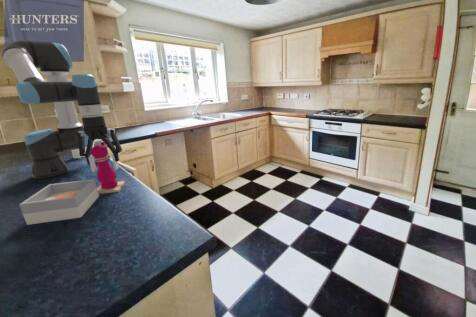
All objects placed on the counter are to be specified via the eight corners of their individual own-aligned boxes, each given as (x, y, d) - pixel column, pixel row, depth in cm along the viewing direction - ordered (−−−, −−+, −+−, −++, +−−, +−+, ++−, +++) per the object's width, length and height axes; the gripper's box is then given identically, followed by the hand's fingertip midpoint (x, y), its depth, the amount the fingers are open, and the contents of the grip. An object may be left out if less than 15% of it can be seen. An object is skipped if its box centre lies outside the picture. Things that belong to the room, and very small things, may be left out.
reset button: (62, 205, 83) (58, 194, 82) (79, 203, 84) (76, 192, 83) (52, 213, 78) (49, 202, 76) (71, 211, 79) (68, 199, 77)
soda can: (96, 160, 139) (91, 141, 136) (108, 157, 144) (104, 139, 140) (99, 162, 135) (94, 143, 131) (111, 159, 139) (107, 141, 136)
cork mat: (102, 185, 101) (101, 183, 100) (125, 182, 102) (125, 180, 102) (93, 194, 91) (92, 192, 91) (119, 191, 93) (118, 189, 93)
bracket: (86, 158, 146) (81, 140, 142) (71, 158, 146) (65, 141, 142) (106, 148, 170) (102, 132, 166) (93, 149, 169) (89, 133, 166)
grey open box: (55, 201, 87) (49, 184, 85) (99, 196, 90) (94, 179, 88) (27, 224, 72) (19, 204, 70) (81, 217, 75) (75, 197, 73)
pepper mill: (112, 181, 101) (100, 139, 95) (122, 183, 98) (110, 140, 91) (96, 188, 96) (82, 143, 89) (106, 191, 92) (92, 144, 85)
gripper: (57, 119, 82) (74, 175, 89) (118, 115, 86) (129, 169, 93) (67, 116, 89) (82, 169, 96) (123, 113, 93) (133, 164, 100)
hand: (105, 169), depth 94 cm, fingers open, 8 cm apart
